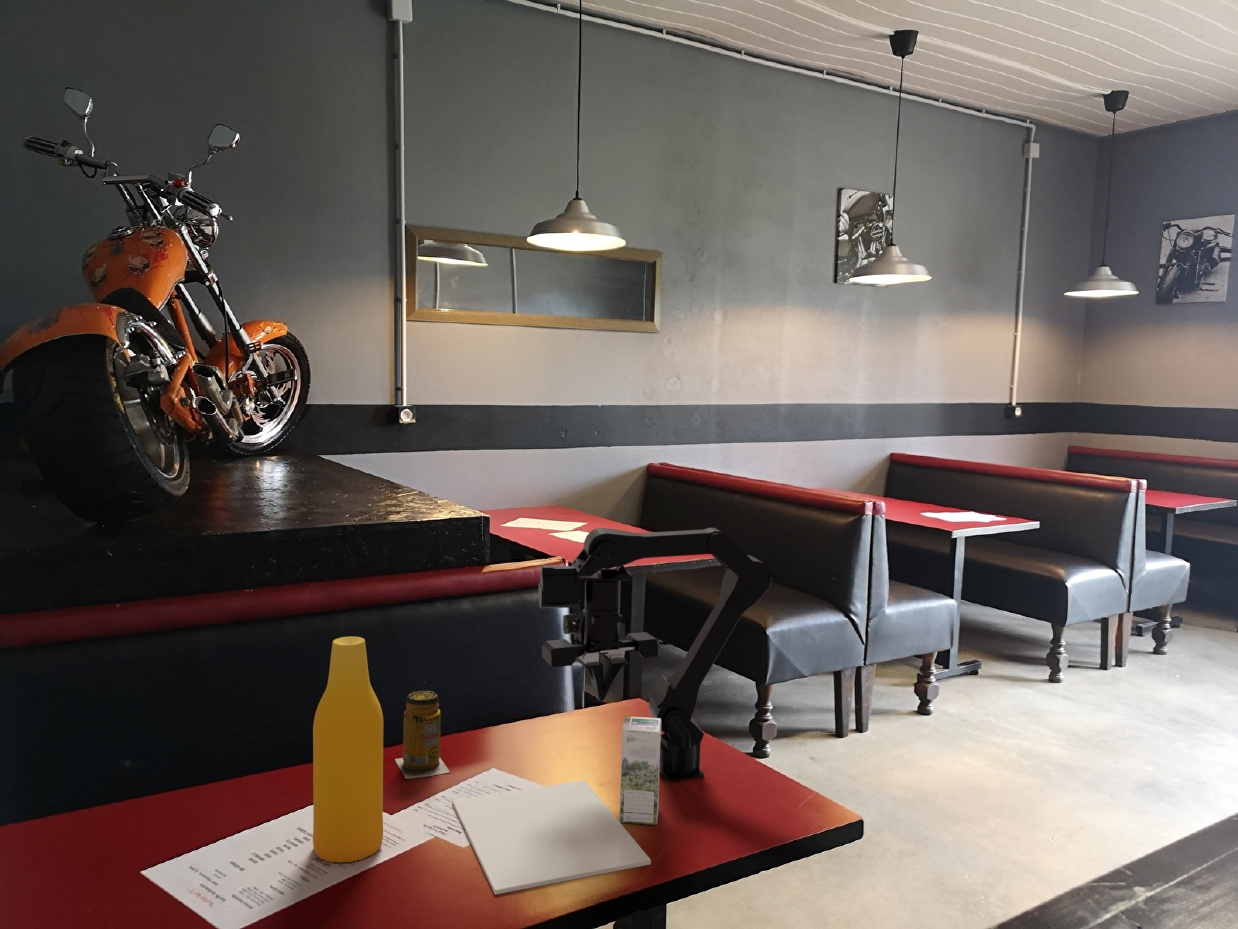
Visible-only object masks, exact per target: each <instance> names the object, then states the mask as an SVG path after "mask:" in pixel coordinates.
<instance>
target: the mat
mask: <svg viewBox="0 0 1238 929" xmlns="http://www.w3.org/2000/svg"><path fill="white" fill-rule="evenodd" d="M451 802H452V806H453V808H454V811H455V814H457V817H458V819H459V822H460V823H461V825H463V826H462V827H464V828H463V829H465V830H464V831H465V834H466V836H467V835H468V836H467V838H468V841H469V842H471V843H470V844H471V848H472V849H473V851H474V853H475V855H476V858H477V859H478V863H480V865H481V869H482V871H483V872H484V874H485V877H486V879H487V880H488V884H489V885H490V887H491V889H492V891H493V893H494V895H501V894H505V893H510V892H517V891H520V890H526V889H531V888H536V887H537V888H538V887H541V886H547V885H552V884H556V883H561V882H567V881H573V880H577V879H582V878H588V877H592V876H596V875H597V876H598V875H599V876H600V875H603V874H609V873H613V872H614V873H615V872H619V871H622V870H629V869H633V868H638V867H643V866H644V867H645V866H648V865H649V866H651V865H652V860H651V858H650V857H649V855H648V854H646V852H645V851H644V850H643V849H642V848H641V846H640V845H639V844H638V843H637V842H636V840H635V839H634V838H633V836H632V835H631V834H630V833H629V832H628V830H626V828H625V827H624V826H623V824H622V823H621V822H620V820H619V819H618V818H617V817H616V816H615V815H614V814H613V812H612V811H611V810H610V809H609V807H608V806H607V805H606V804H605V803H604V801H602V799H601V798H600V797H599V795H598V794H597V792H595V791H594V790H593V788H592V787H591V786H590V785H589V783H588V782H587V781H586V780H585V779H583V780H578V781H576V780H575V781H569V782H563V783H557V784H550V785H543V786H537V787H530V788H529V787H528V788H523V789H515V790H511V791H509V790H508V791H503V792H498V793H496V792H495V793H489V794H484V795H478V796H477V795H476V796H470V797H469V796H468V797H465V798H457V799H452V801H451Z"/></svg>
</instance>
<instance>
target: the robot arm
mask: <svg viewBox="0 0 1238 929" xmlns="http://www.w3.org/2000/svg"><path fill="white" fill-rule="evenodd" d="M585 536H586V537H585V538H584V542H583V548H582V549H581V551H580V552H579V554H578V555H577V556H576V557H575V559H573V561H572V563H571V565H562V566H560V565H559V566H558V565H556V566H554V565H550V564H543V565H541V566H540V577H539V582H538V606H539V609H565V608H566V609H567V608H569V609H572V608H576V605H579V604H580V602H581V601H582V600H583V582H585V583H584V609H582V612H581V618H578V616H577V614H576V613H570V614H564V615H563V616H562V619H563V620H562V631H563V634H564V635H571V634H573V639H574V640H578V641H579V642H583V643H579V644H572V643H571V642H570V641H568V639H565V638H564V639H555V640H554V639H553V640H546V641H545V642H544V643H543V644H542V647H541V657H542V658H543V659H542V660H544V661H545V662H546V663H548V665H549V666H550V667H554V668H558V667H559V668H560V667H570V666H572V665H573V664H575V662H578V663H579V664H580V665H581V666H582V667H584V669H586V671H587V672H588V675H589V677H590V681H591V684H592V687H593V690H594V693H595V696H596V699H597V700H598V701H599V702H601V701H602V702H603V701H605V699H606V697H607V694H608V693H609V690H610V689H611V686H612V683H613V682H614V680H615V678H616V677H617V675H618V674H619V673H620V671H621V669H622V667H623V666H626V665H628V660H627V659H626V658H625V654H626V653H630V652H637V653H638V655H640V656H641V658H642V659H650V658H659V656H660V655H661V653H660V652H661V645H660V642H659V640H658V639H657V638H656V637H654V636H653V635H651V634H649V632H647V631H642V632H632V633H627V634H626V635H625V637H624V639H625V640H622V639H620V623H622V622H623V615H622V614H620V612H621V609H620V608H621V581H624V582H625V581H626V582H627V581H632V580H633V579H634V576H633V575H632V574H631V573H630V572H629V571H628V570H627V569H626V567H625V566H626V565H629V564H631V563H634V562H636V561H638V560H639V561H640V560H642V559H651V558H668V557H670V558H671V557H683V556H684V557H686V556H698V555H711V556H712V557H713V558H714V559H715V560H716V561H717V562H718V563H719V564H720V565H721V566H722V567H723V568H724V569H725V573H724V575H723V579H722V582H721V587H720V591H719V592H720V593H719V598H718V599H717V602H716V604H715V605H714V607H713V609H712V610H711V613H710V614H709V615H708V617H707V619H706V621H705V622H704V624H703V626H702V627H701V629H700V631H699V633H698V634H697V636H696V638H695V639H694V641H693V643H692V645H690V646H691V647H690V648H689V650H688V651H687V653H686V655H685V657H684V658H683V661H682V662H681V663H680V665H679V667H678V668H677V670H676V671H675V672H674V673H673V674H671V675H670V676H669V677H666V676H665V675H664V674H660V676H659V677H658V679H657V681H656V684H655V686H654V687H653V689H651V690H650V691H649V692H648V695H649V697H650V698H649V701H648V710H649V713H650V714H651V716H652V717H651V718H661V732H663V733H661V744H660V768H659V774H661V775H662V776H663V777H664V778H665V779H666V780H667V781H668V782H675V781H682V780H688V779H689V780H690V779H696V777H697V778H702V777H704V776H705V772H704V771H702V770H701V743H702V741H703V738H704V735H705V734H704V731H703V730H702V728H700V726H699V725H698V723H697V722H696V720H695V719H694V718H693V716H694V712H695V710H696V708H697V703H698V698H699V691H700V688H701V685H702V684H703V682H704V681H705V679H706V678H707V675H708V674H709V672H710V670H711V668H712V666H713V665H714V663H715V661H716V660H717V658H718V656H719V654H720V653H721V652H722V649H723V648H724V646H725V645H726V643H727V641H728V640H729V637H730V636H731V635H732V632H733V631H734V629H735V628H736V626H737V624H738V622H739V621H740V619H741V618H742V616H743V615H744V614H745V612H747V611H748V610H749V609H751V608H752V607H754V606H755V605H756V604H757V603H758V602H759V601H760V600H761V598H763V596H764V595H765V594H766V593H767V591H769V589H770V587H771V585H772V582H773V576H772V572H771V569H770V568H769V566H768V565H767V564H765V563H764V562H762V560H759V559H757V558H755V557H754V556H752V555H749V554H746V553H745V552H744V551H743V550H741V549H740V548H739V547H738V546H737V545H736V544H735V543H733V541H732V540H730V539H729V538H728V536H727V534H726V533H725V532H723V531H721V530H720V529H717V528H716V527H708V528H707V527H706V528H704V529H692V530H691V529H690V530H675V531H673V530H671V531H655V532H633V531H628V530H623V529H616V528H608V527H598V528H593V529H591V531H590V532H589V533H588V534H587V535H585Z"/></svg>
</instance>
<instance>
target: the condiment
mask: <svg viewBox="0 0 1238 929" xmlns="http://www.w3.org/2000/svg"><path fill="white" fill-rule="evenodd" d="M439 699H440V698H439V695H438V694H437V693H436V692H435V691H431V690H417V691H413V692H411V693H409V694H408V695H407V697H406V700H405V701H406V705H405V708H406V709H405V711H404V713H403V743H402V746H403V747H402V748H403V749H402V750H403V751H402V756H403V757H400V758H395V759H394V761H395V763H396V764H397V767H398V768H399V770H400V771H401V773H402V775H403V776H404V778H405V779H417V778H425V777H429V776H430V777H433V776H435V775H436V776H437V775H442V774H447V773H451V771H450V770H449V768H448V766H446V764H445V762H444V761H443V760H442V758H441V724H442V723H441V722H442V721H441V710H440V709H439V705H440V704H439Z"/></svg>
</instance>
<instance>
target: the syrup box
mask: <svg viewBox="0 0 1238 929" xmlns="http://www.w3.org/2000/svg"><path fill="white" fill-rule="evenodd" d="M661 734H662V731H661V718H653V717H642V716H628V715H627V716H624V719H623V723H622V730H621V752H620V753H621V755H620V756H621V757H620V758H621V760H620V761H621V762H620V763H621V764H620V786H619V787H620V789H619V790H620V792H619V822H620V823H621V824H623V823H625V824H637V825H638V824H639V825H652V826H655V825H657V824H658V816H659V807H660V806H659V804H660V802H659V801H660V800H659V799H660V798H659V796H660V795H659V794H660V772H659V768H660V744H661Z"/></svg>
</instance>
